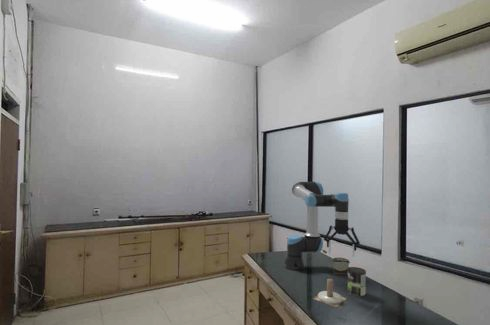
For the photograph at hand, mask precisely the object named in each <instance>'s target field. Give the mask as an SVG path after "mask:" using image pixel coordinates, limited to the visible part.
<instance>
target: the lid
mask: <svg viewBox="0 0 490 325" xmlns="http://www.w3.org/2000/svg"><path fill="white" fill-rule="evenodd" d="M317 295H318V298H319V299H320V300H321V301H323V302H322V303H324V302H325V303H324V304H326V303H329V304H338V303H341V302H342V297H343V296H342V295H341V294H339V293H338V292H335V291H334V279H332V278H327V279H326V290H322V291H320V292H318V294H317ZM321 301H320V302H321ZM342 303H343V302H342ZM342 303H341V304H342ZM329 304H328V305H329Z"/></svg>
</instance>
